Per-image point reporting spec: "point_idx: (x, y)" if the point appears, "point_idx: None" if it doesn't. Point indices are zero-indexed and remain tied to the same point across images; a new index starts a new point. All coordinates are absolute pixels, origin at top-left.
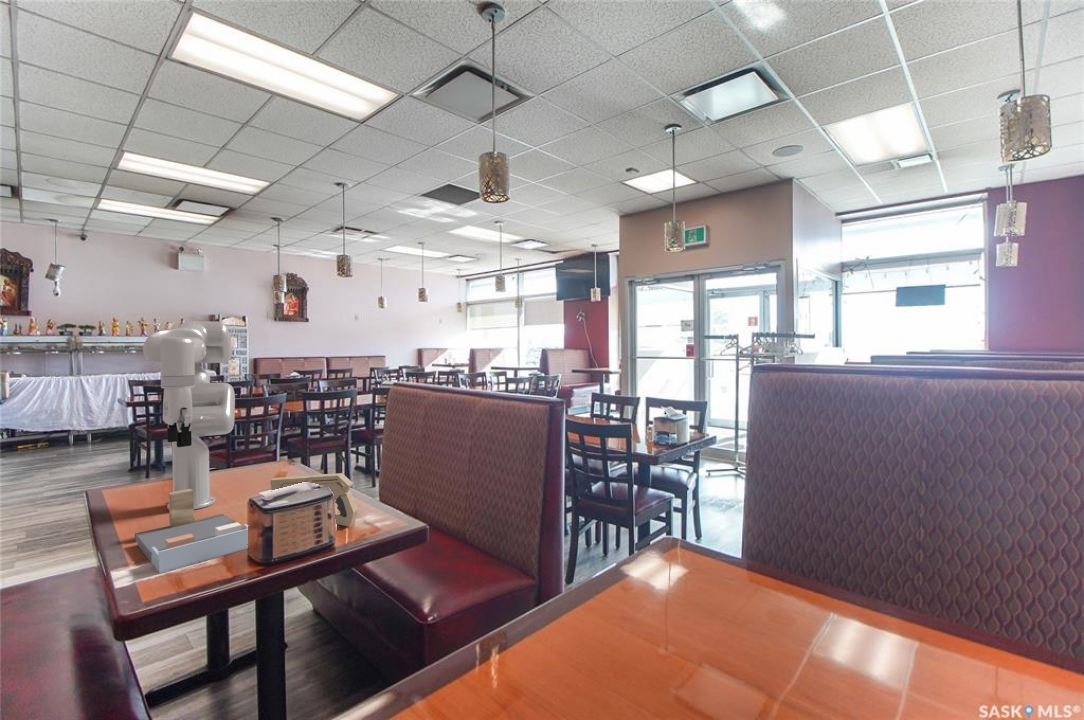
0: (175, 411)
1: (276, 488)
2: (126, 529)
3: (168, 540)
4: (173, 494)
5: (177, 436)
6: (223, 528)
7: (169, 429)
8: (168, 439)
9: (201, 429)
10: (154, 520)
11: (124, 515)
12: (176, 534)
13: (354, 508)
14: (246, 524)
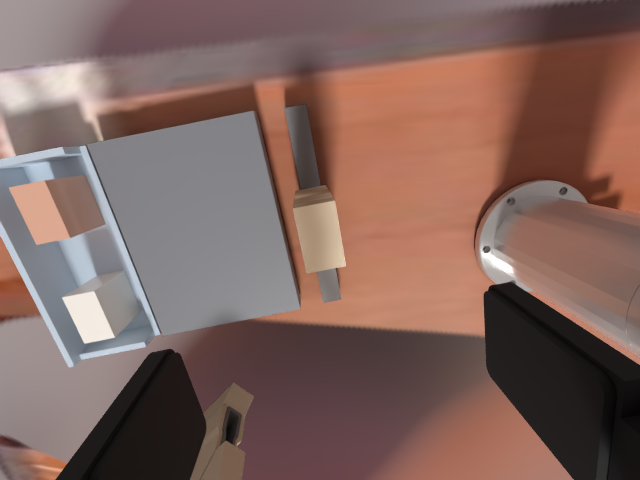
0: None
1: (210, 465)
2: (420, 82)
3: (32, 187)
4: (301, 214)
5: (85, 442)
6: (75, 307)
7: (594, 384)
8: (504, 298)
9: None
10: (453, 149)
11: (570, 72)
12: (203, 200)
13: None
14: (139, 347)
